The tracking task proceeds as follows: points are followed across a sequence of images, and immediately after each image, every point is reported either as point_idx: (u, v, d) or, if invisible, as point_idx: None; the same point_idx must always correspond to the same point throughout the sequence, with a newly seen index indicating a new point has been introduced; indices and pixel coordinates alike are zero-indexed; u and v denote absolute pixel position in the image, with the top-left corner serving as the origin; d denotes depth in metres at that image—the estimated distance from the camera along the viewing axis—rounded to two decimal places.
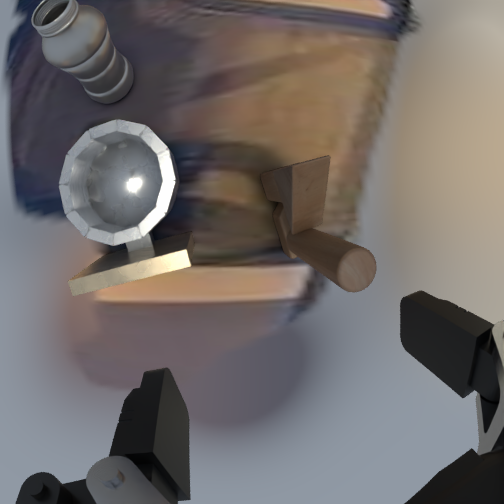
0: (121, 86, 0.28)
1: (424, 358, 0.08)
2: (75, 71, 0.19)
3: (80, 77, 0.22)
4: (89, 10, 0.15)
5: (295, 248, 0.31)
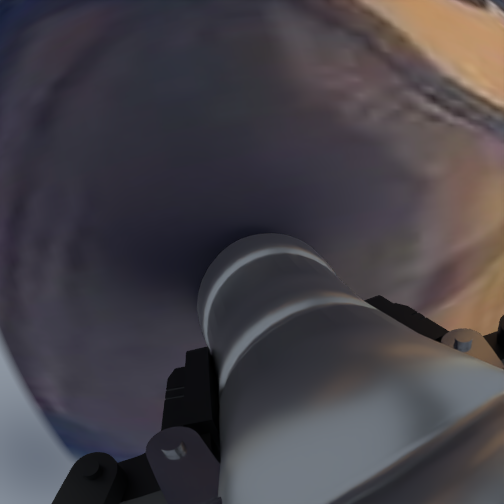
0: None
1: None
2: None
3: None
4: None
5: None
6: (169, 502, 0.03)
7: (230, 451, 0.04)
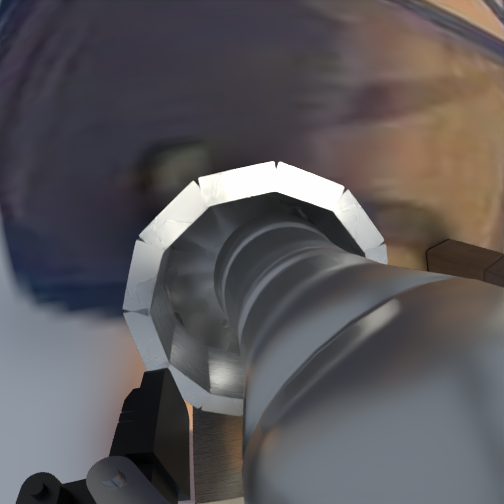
0: None
1: None
2: None
3: None
4: None
5: None
6: None
7: (257, 349, 0.06)
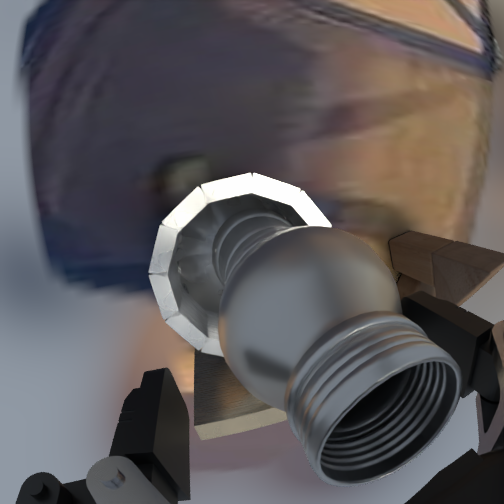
0: None
1: None
2: None
3: None
4: (400, 305, 0.08)
5: None
6: None
7: (230, 269, 0.12)
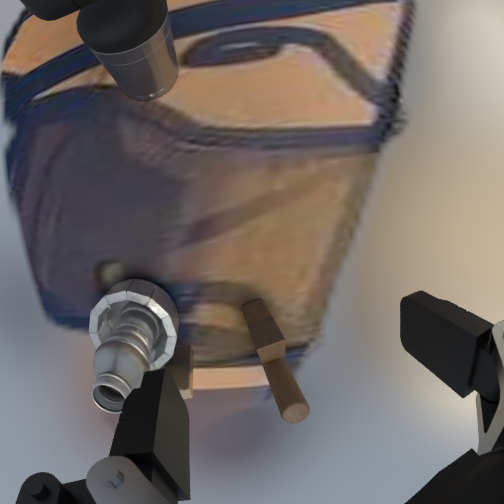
0: (156, 339, 0.39)
1: (424, 358, 0.08)
2: None
3: None
4: (133, 369, 0.26)
5: (265, 371, 0.42)
6: None
7: None
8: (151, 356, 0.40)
